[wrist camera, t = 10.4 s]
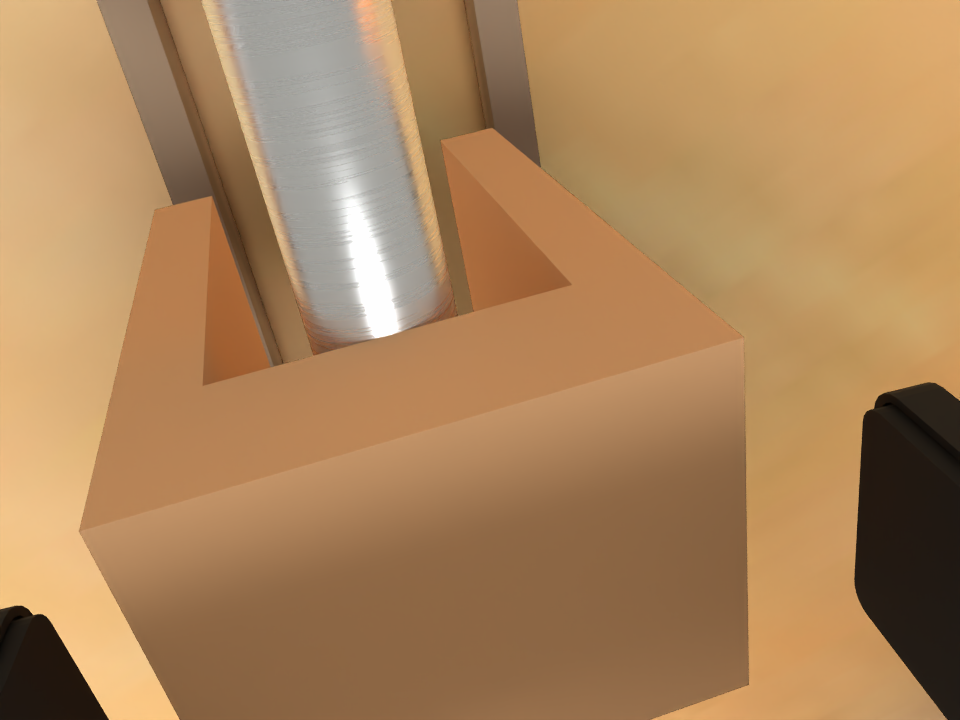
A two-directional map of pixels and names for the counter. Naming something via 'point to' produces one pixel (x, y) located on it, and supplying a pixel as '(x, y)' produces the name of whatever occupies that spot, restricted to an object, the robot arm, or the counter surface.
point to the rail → (337, 162)
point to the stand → (183, 143)
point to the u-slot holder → (433, 482)
